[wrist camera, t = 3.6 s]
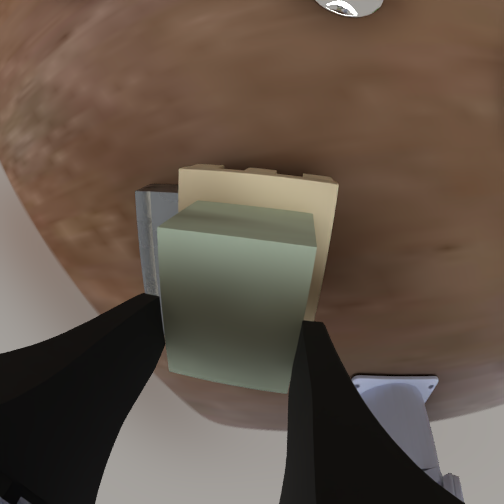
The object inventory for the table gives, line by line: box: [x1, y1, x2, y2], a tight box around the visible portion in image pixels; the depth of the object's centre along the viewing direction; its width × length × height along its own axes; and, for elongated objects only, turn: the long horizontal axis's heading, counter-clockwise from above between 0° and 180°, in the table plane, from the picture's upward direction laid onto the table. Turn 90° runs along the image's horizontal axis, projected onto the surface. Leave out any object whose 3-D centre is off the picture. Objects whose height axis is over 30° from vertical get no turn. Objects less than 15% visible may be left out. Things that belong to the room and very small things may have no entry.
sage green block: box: [157, 164, 339, 394], centre depth 11 cm, size 8×6×6 cm
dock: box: [135, 184, 179, 335], centre depth 18 cm, size 10×8×2 cm
